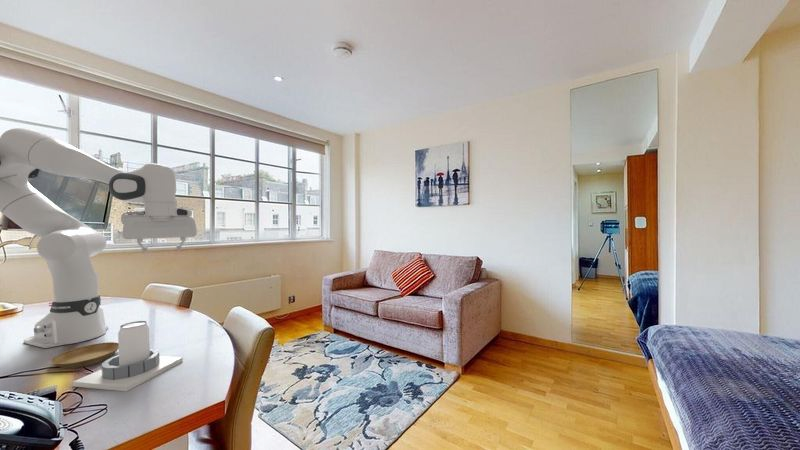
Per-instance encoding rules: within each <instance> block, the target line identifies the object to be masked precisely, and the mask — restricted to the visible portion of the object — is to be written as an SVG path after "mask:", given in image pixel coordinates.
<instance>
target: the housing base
mask: <svg viewBox="0 0 800 450" xmlns="http://www.w3.org/2000/svg"><path fill="white" fill-rule="evenodd" d="M183 359H184V358H183V357H182V356H167V355H160V351H159V350H158V349H157V348H150V357H149V358H147V359H144V360H142V361H139V362H136V363H132V364H128V365H121V366H119V354H116V355H114V356H111V357H109V358H108V359H106V360H104V361H102V363H101V369H99V370H96V371H94V372H92V373H89V374H88V375H85V376H83V377H81V378H78V379H76V380H73V381H72V387H75V388H76V387H77V388H85V389H86V388H87V389H97V390H98V389H99V390H105V391H116V392H117V391H118V392H128V391H129V390H132V389H134V388H136V387H137V386H139V385H141V384H143V383H145V382H147V381H148V380H151V379H152V378H154V377H156V376H158V375H160V374H162V373H164V372H165V371H168V370H169V369H171V368H173V367H175V366H177V365H179V364H181V363H183V361H184V360H183Z"/></svg>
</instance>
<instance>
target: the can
mask: <svg viewBox="0 0 800 450" xmlns="http://www.w3.org/2000/svg"><path fill="white" fill-rule="evenodd" d="M119 327H120V329H119V330H118V333H117V334H118V336H117V337H118V338H117V341H118V342H117V343H118V345H119V349H118V355H119V366H121V365H128V364H132V363H136V362H139V361H142V360H144V359H147V358H149V357H150V349H151V348H150V347H151V346H150V342H151V341H150V326H149V325H148V321H147V320H138V321H137V320H136V321H135V320H134V321H129V322H126V323H124V324H122V325H120V326H119Z"/></svg>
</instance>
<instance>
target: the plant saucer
mask: <svg viewBox="0 0 800 450" xmlns="http://www.w3.org/2000/svg"><path fill="white" fill-rule="evenodd" d="M117 351H119V345H118V342H112V341H111V342H110V341H107V342H99V343H93V344H88V345H87V344H86V345H83V346H79V347H76V348H72V349H70V350H66V351H63V352H61V353H59V354H57V355H55V356H54V357H52V358H51V359H50V363H51V364H53V365H54V366H56V367H59V368H61V369H65V370H66V369H78V368H79V369H80V368H82V367H87V366H91V365H95V364H98V363H100V362H105V361H106V360H107V359H109V358H111V357H113V355H115V353H116V352H117Z"/></svg>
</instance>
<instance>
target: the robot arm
mask: <svg viewBox="0 0 800 450" xmlns="http://www.w3.org/2000/svg"><path fill="white" fill-rule="evenodd" d="M42 171H43V172H45V173H49V174H53V175H56V176H61V177H62V176H63V177H70V178H76V179H78V178H79V179H84V180H85V179H86V180H92V181H97V182H101V183H104V184H108V191H109V193H110V194H111V196H112V197H113V198H114V199H117V200H120V201H123V202H132V203H138V204H139V203H140V204H141V203H142V204H144V210H141V211H140V210H139V211H133V210H132V211H131V210H128V211H125V212H123V213H122V214H121V216H120V222H121V224H122V225H123V227H122V235H121V236H122V238H123V239H124V240H136V243H137V244H138V246H139V247H140V248H141V253H149V252H148V251H149V249H148V246H144V244H143V242H144V239H169V238H172V239H173V238H179V239H180V241H181V242H180V243H179V244H178V245H176V251H182V249H183V248H182V246H183V244H184V243H185V242H186V238H195V237H196V236H197V235H198V232H197V224H196V222H195V221H196V220H195V218H193V217H192V215H193V212H192V210H191V209H187V208H184V207H181V206H180V207H179V206H178V202H177V200H176V199H177V198H176V194H177V181H176V180H177V179H176V174H175V171H174V169H173V168H171V167H170V166H167V165H164V164H163V165H162V164H159V163H153V162H151V163H150V162H149V163H145V164H144V165H143V166H142V167H139V168H137V169H133V170H131V171H125V170H123V169H120V168H117V167H114V166H112V165H109V164H108V163H105V162H103V161H101V160H99V159H97V158H95V157H93V156H91V155H89V154H88V153H85V152H84V151H83V150H80V149H78V148H76V147H75V146H73V145H72V144H68V143H67V142H65V141H63V140H59V139H57V138H55V137H52V136H49V135H47V134H45V133H41V132H37V131H35V130H34V131H33V130H30V129H25V128H20V127H19V128H15V127H14V128H11V129H8V130H6V131H5V132H3V133H2V134H1V135H0V213H2V214H3V215H4V216H5V217H7V219H9V220H10V221H12V222H13V223H14V224H16V225H18V227H20V228H21V229H22V230H24V231H25V232H27V233H30V234H32V235H35V236H37V237H40V239H39V240H38V242H37V243H36V251H37V253H38V255H39V256H40V257H41V258H43V260H45V262H46V264H47V267H48V269H49V271H50V274H51V278H52V284H53V301H52V302H49V303H48V307H50V309H49V313H47V314H46V316H44V317H43V318H41V319H40V320H39V321H37V322H36V323H35V324H34V328H33V332H34V333H33V335H32V336H29V337H27V338H26V339H24V340H23V343H24V344H27V345H31V346H35V347H37V348H38V347H39V348H42V349H47V348H53V347H58V346H65V345H72V344H76V343H82V342H87V341H89V340H92V339H95V338H98V337H101V336H103V335H105V334H106V332H107V330H109V326H108V325H106V321H105V313H104V309H103V308H102V307H101V305H102V304H101V303H102V299H101V295H100V294H99V275H98V272H96V271H95V269H94V267H93V264H92V261H91V258H93V257H95V256H96V255H98V254H100V253H101V252H102V251H103V250H105V248H106V246H107V238H106V236H104V234H103V233H101V232H100V231H97V230H95V229H94V228H91V227H90V226H89V225H87V224H86V223H84V222H83V221H80V220H78V219H77V218H75V217H74V216H72V215H70V214H69V213H67V212H65V210H63V209H62V208H60V207H59V206H58V205H56V204H55V203H54V202H53V201H51V200H50V199H49V198H48V197H46V195H44V194H43V193H41V192H40V191H38V190H37V189H36V188H35V187H33V186H32V185H31V183H30V181H29V179H34V178H37V177H38V176H39V174H40V172H42Z"/></svg>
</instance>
